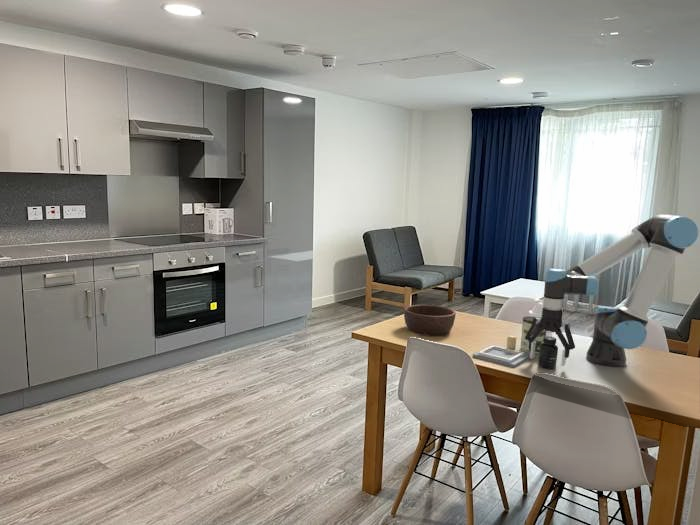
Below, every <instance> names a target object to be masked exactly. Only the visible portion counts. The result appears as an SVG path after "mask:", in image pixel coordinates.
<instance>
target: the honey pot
mask: <svg viewBox="0 0 700 525" xmlns="http://www.w3.org/2000/svg"><path fill="white" fill-rule="evenodd" d="M540 301H541V300H540V299H536V298H534V299H533V302H534V303H535V304H536V305H534V307H533V308H532V310H531V309H530V310H528V314H529V315H528V317H529V316H530V317H540V318H542V308H543V302H540ZM546 336H549V337H553V332H551V331H546Z"/></svg>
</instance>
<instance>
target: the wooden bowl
mask: <svg viewBox="0 0 700 525" xmlns="http://www.w3.org/2000/svg"><path fill="white" fill-rule="evenodd" d="M456 315H457V314H456V311H455V310H454V309H452V308H448V307H446V306H440V305H435V304H414V305H413V304H412V305H408V306H406V307H404V308H403V317H404V322H405V326H406V328H407V330H409V331H410V332H411V333H414V334H417V335H422V336H431V337H432V336H433V337H435V336H445V335H448V334H449V333H450V332H451V331H452V329H453V327H454V324H455V319H456Z"/></svg>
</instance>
